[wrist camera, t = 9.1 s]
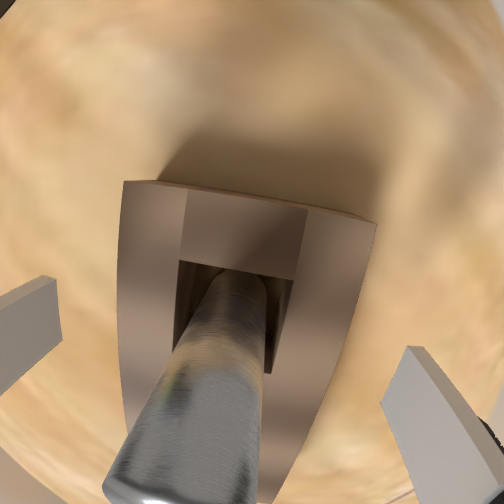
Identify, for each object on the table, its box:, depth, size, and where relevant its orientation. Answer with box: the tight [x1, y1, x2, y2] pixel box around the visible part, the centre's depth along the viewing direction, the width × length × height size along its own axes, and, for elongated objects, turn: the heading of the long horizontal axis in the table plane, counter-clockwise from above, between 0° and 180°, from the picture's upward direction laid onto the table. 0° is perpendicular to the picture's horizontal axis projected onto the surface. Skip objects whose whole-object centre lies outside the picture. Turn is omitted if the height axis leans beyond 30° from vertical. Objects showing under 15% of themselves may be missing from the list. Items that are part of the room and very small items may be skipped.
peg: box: [102, 269, 267, 504], centre depth 10 cm, size 3×3×12 cm
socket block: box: [117, 180, 377, 504], centre depth 15 cm, size 20×10×4 cm, turn 170°
